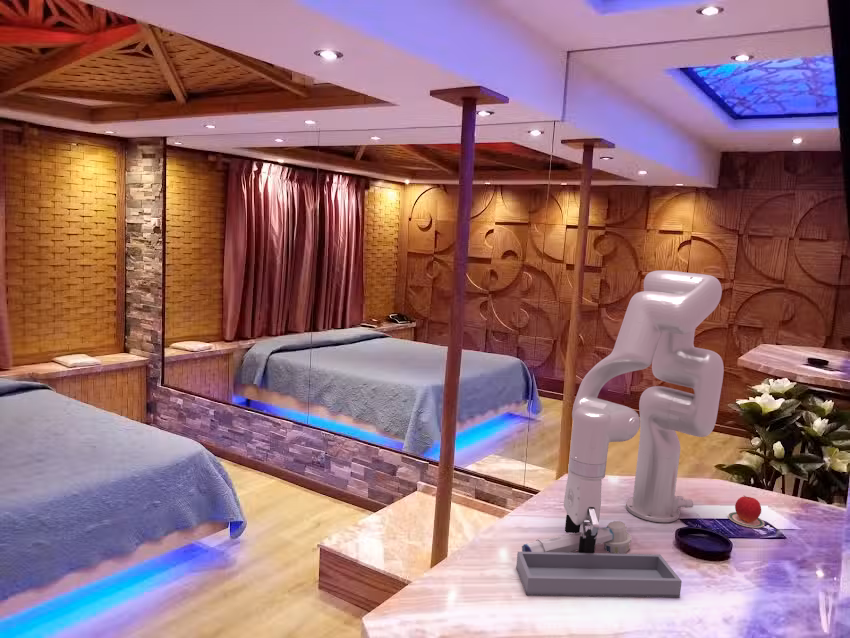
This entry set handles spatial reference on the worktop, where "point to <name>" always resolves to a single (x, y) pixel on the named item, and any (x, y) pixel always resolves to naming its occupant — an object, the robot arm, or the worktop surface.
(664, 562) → the tray
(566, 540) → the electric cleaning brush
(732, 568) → the worktop surface
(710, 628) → the worktop surface
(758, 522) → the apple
